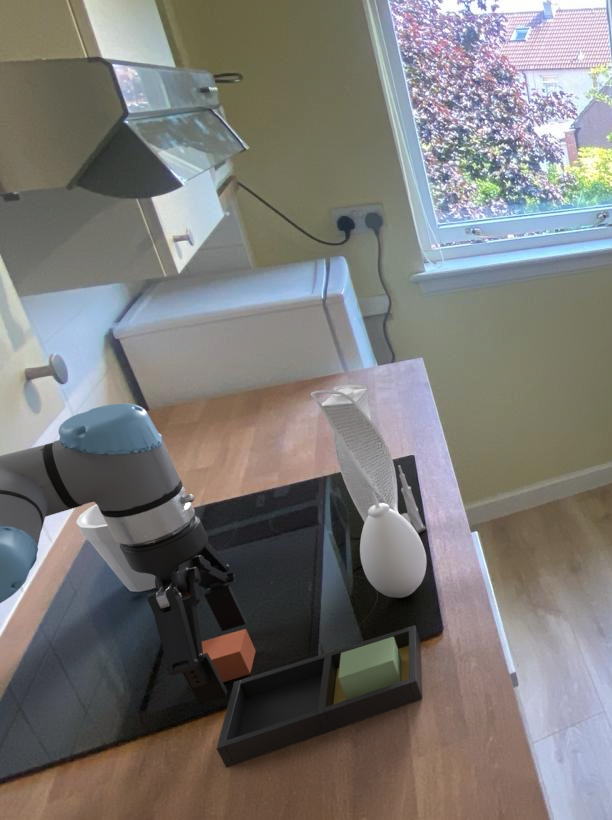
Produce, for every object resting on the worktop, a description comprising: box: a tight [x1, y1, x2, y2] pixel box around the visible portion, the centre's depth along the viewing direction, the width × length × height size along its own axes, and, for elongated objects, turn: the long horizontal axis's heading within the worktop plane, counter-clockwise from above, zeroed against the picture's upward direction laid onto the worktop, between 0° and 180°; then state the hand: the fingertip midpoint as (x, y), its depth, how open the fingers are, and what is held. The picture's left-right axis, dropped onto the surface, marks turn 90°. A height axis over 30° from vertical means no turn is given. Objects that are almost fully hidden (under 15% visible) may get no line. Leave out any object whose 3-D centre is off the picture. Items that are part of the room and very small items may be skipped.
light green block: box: [338, 637, 401, 700], centre depth 92 cm, size 6×4×4 cm
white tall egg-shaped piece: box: [359, 492, 427, 599], centre depth 105 cm, size 8×8×18 cm
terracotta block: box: [201, 628, 256, 683], centre depth 96 cm, size 6×4×4 cm
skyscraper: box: [310, 384, 427, 535], centre depth 117 cm, size 8×8×28 cm
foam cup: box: [75, 503, 156, 593], centre depth 111 cm, size 10×9×13 cm
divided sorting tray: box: [215, 625, 423, 768], centre depth 91 cm, size 20×11×3 cm, turn 116°
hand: (224, 660), depth 96 cm, fingers open, 13 cm apart
